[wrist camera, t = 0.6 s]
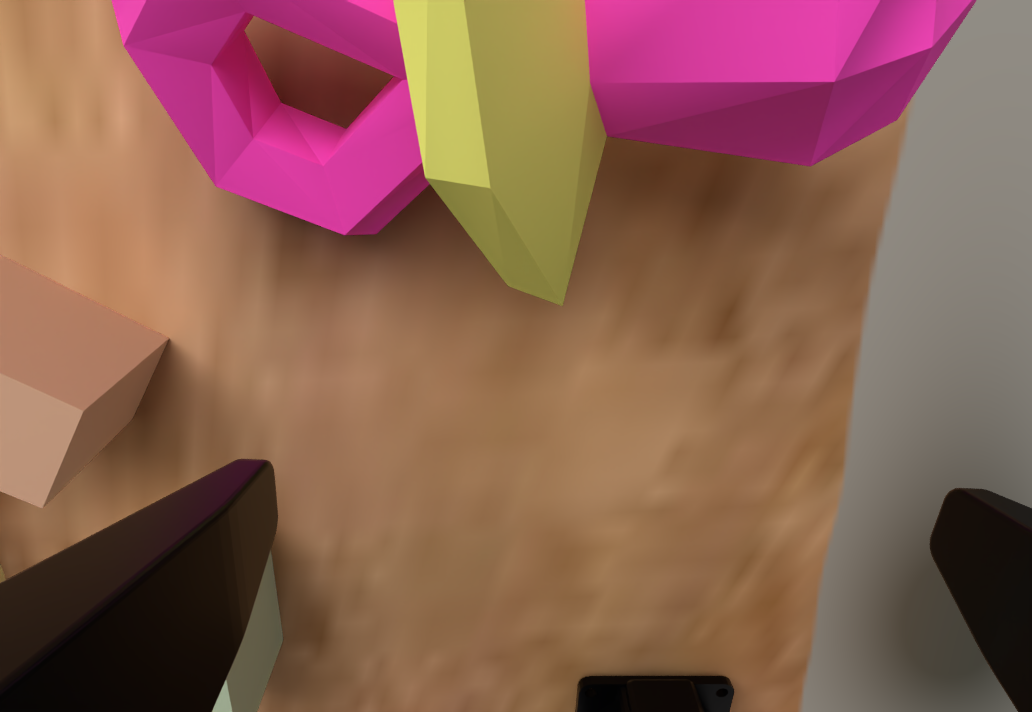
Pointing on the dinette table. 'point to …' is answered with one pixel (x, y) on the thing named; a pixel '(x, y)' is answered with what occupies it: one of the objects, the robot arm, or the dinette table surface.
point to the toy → (526, 100)
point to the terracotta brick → (63, 380)
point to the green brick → (254, 651)
